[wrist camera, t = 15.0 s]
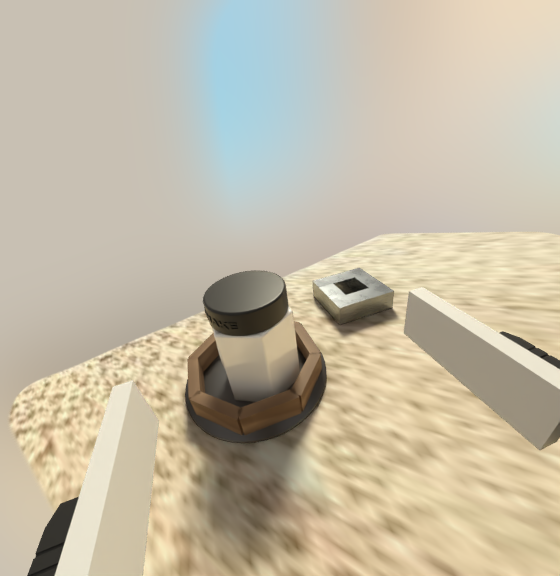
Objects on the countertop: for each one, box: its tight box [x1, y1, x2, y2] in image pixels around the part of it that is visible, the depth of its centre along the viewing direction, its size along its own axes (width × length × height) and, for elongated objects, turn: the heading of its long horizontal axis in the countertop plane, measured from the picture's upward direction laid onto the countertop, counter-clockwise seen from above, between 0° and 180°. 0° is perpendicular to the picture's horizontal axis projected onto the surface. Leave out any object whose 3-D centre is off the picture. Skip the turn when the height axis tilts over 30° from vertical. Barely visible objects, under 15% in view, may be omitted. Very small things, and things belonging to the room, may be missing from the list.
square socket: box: [313, 268, 394, 325], centre depth 42 cm, size 9×9×3 cm
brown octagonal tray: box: [185, 322, 326, 443], centre depth 31 cm, size 17×17×3 cm
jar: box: [203, 271, 300, 402], centre depth 28 cm, size 9×8×12 cm
